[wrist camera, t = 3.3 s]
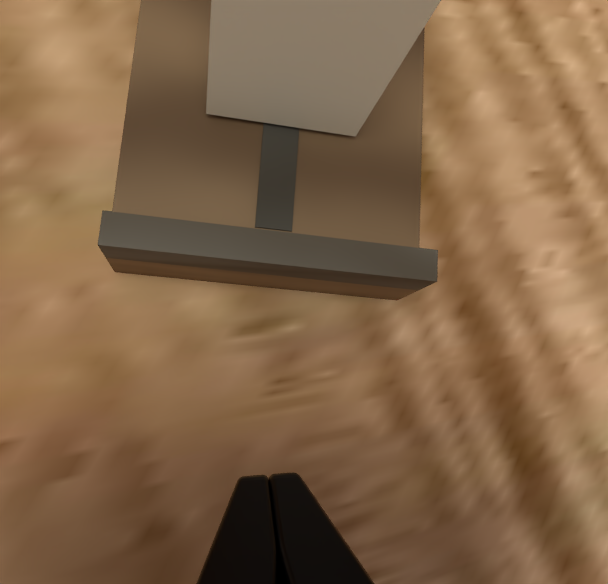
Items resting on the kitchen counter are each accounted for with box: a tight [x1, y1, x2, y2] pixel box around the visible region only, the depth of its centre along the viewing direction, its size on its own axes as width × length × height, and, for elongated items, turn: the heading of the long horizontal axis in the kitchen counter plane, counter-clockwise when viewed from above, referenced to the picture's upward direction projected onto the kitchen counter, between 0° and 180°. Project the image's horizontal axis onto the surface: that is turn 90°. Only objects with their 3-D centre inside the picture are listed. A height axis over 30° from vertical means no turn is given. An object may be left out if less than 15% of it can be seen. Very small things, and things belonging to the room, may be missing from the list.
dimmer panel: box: [98, 0, 438, 300], centre depth 20 cm, size 20×10×4 cm, turn 176°
